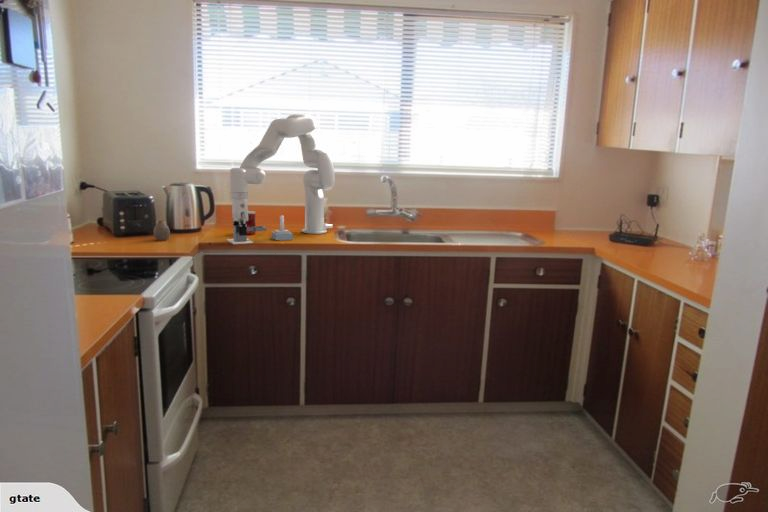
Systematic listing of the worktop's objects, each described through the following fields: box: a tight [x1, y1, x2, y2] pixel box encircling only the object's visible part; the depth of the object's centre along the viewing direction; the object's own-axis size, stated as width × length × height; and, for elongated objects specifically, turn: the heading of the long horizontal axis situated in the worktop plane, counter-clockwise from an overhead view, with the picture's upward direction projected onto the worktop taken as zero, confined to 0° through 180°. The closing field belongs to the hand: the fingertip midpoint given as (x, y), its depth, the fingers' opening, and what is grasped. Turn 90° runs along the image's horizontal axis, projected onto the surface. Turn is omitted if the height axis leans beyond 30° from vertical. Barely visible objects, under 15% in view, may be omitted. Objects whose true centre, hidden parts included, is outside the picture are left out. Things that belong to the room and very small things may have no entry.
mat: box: [226, 238, 254, 245], centre depth 252 cm, size 9×11×1 cm
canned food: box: [241, 210, 257, 236], centre depth 272 cm, size 8×8×11 cm
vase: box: [153, 219, 171, 242], centre depth 249 cm, size 7×7×9 cm
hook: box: [232, 224, 267, 242], centre depth 254 cm, size 14×5×7 cm, turn 120°
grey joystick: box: [270, 215, 294, 241], centre depth 261 cm, size 8×7×11 cm
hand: (239, 233), depth 251 cm, fingers open, 9 cm apart
